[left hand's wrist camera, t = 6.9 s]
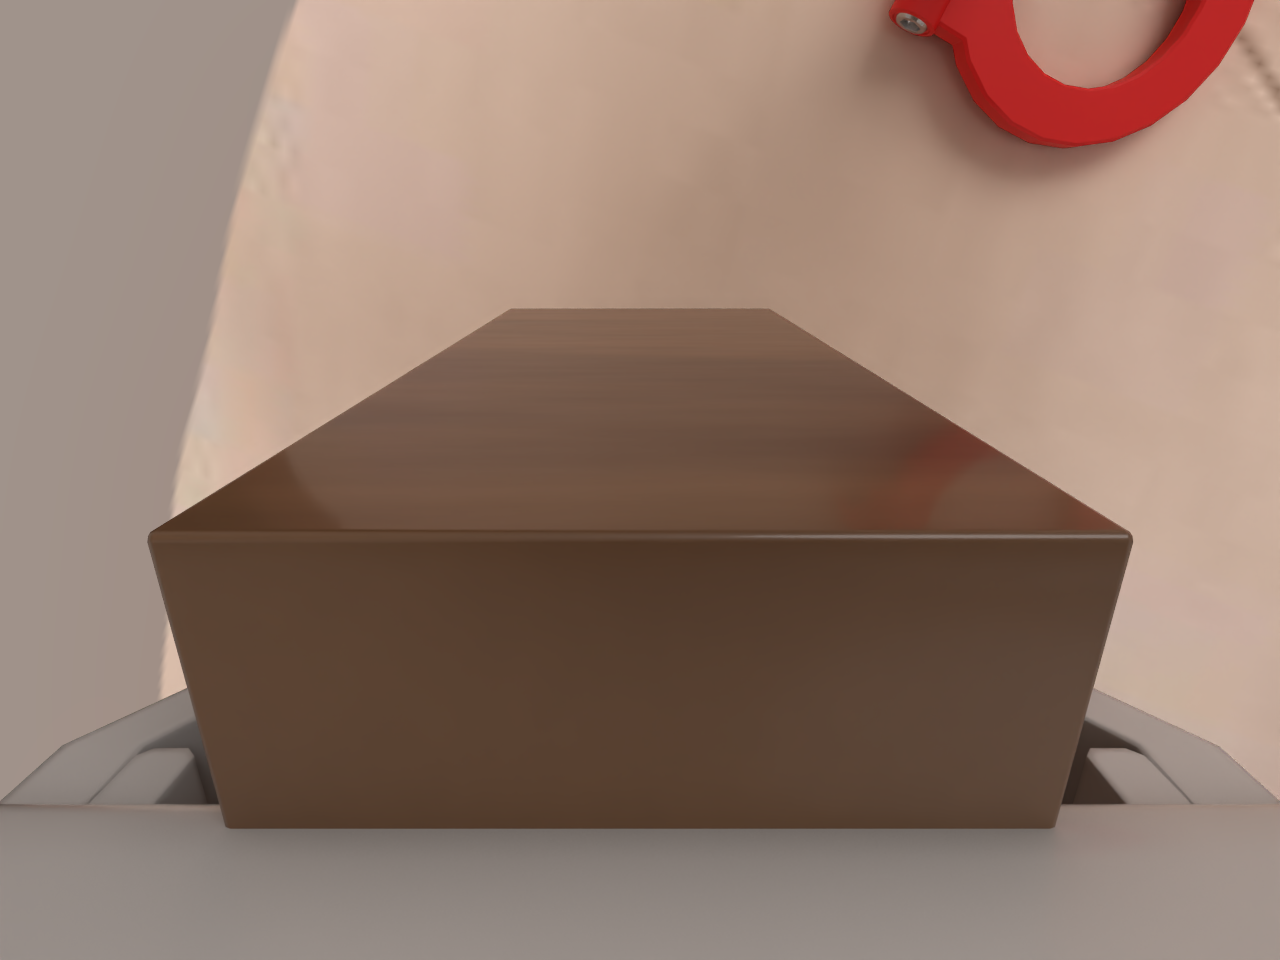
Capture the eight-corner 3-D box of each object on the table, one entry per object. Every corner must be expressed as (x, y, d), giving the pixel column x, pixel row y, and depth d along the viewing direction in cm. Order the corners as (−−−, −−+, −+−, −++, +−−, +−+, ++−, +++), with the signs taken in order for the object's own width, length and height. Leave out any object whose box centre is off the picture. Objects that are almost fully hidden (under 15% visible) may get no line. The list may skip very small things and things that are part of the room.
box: (509, 308, 16) (140, 534, 4) (771, 308, 16) (1140, 533, 4) (551, 973, 23) (464, 1708, 12) (728, 973, 23) (815, 1708, 12)
